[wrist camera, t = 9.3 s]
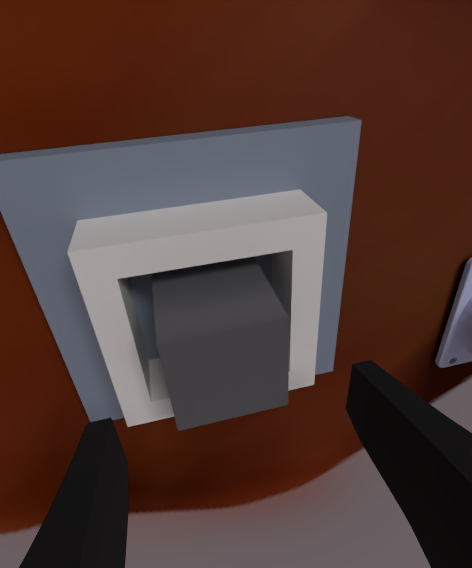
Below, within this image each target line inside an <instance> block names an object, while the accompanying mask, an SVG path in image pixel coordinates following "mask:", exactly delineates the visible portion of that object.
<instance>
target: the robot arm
mask: <svg viewBox="0 0 472 568" xmlns="http://www.w3.org/2000/svg"><path fill="white" fill-rule="evenodd" d="M470 361H472V257H471V258H470V259H469V260H468V261H467V263H466V265H465V269H464V272H463V275H462V278H461V281H460V284H459V287H458V291H457V294H456V297H455V300H454V303H453V306H452V309H451V313H450V316H449V319H448V322H447V325H446V328H445V331H444V335H443V338H442V341H441V344H440V347H439V350H438V353H437V357H436V360H435V363H436V364H437V365H438V366H439V367H440V368H445V367H449V366H453V365H458V364H462V363H466V362H470ZM346 410H347V412H348V414H349V417H350V419H351V421H352V424H353V426H354V428H355V430H356V432H357V434H358V437H359V439H360V441H361V442H362V444H363V446H364V448H365V449H366V451H367V453H368V454H369V456H370V458H371V459H372V461H373V463H374V464H375V466H376V468H377V469H378V471H379V473H380V474H381V476H382V478H383V479H384V481H385V483H386V484H387V486H388V487H389V489H390V491H391V493H392V494H393V496H394V498H395V499H396V501H397V502H398V504H399V506H400V508H401V509H402V511H403V513H404V514H405V516H406V518H407V520H408V522H409V524H410V525H411V527H412V529H413V531H414V533H415V535H416V537H417V539H418V542H419V544H420V546H421V548H422V550H423V552H424V554H425V556H426V558H427V560H428V562H429V564H430V566H431V568H472V433H470V432H469V431H468V430H466V429H465V428H463V427H462V426H460V425H458V424H457V423H456V422H454V421H453V420H451V419H450V418H448V417H447V416H445V415H444V414H443V413H441V412H440V411H438V410H437V409H436V408H434V407H433V406H431V405H430V404H429V403H427V402H426V401H424V400H423V399H422V398H420V397H419V396H418V395H416V394H415V393H414V392H412V391H411V390H410V389H408V388H407V387H406V386H404V385H403V384H402V383H400V382H399V381H398V380H396V379H395V378H394V377H392V376H391V375H390V374H389V373H387V372H386V371H385V370H383V369H382V368H381V367H379V366H378V365H377V364H375V363H374V362H373V361H371V360H369V361H365V362H360V363H356V364H353V365H352V371H351V378H350V384H349V391H348V397H347V404H346ZM128 508H129V484H128V462H127V458H126V456H125V453H124V450H123V448H122V445H121V442H120V440H119V437H118V434H117V432H116V429H115V426H114V424H113V421H112V418H107V419H102V420H98V421H93V422H89V423H88V424H87V425H86V426H85V428H84V431H83V434H82V437H81V439H80V442H79V444H78V447H77V449H76V452H75V454H74V457H73V459H72V461H71V464H70V466H69V468H68V471H67V473H66V475H65V478H64V480H63V482H62V484H61V486H60V488H59V491H58V493H57V495H56V497H55V499H54V501H53V503H52V506H51V508H50V510H49V512H48V514H47V516H46V518H45V520H44V522H43V524H42V526H41V527H40V529H39V532H38V533H37V535H36V537H35V539H34V541H33V543H32V545H31V547H30V549H29V551H28V552H27V554H26V556H25V558H24V560H23V562H22V563H21V565H20V567H19V568H125V556H126V540H127V525H128Z"/></svg>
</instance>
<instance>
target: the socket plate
mask: <svg viewBox="0 0 472 568" xmlns="http://www.w3.org/2000/svg"><path fill="white" fill-rule="evenodd" d="M361 121H362V120H359V119H356V118H353V117H350V116H345V117H336V118H327V119H318V120H308V121H299V122H290V123H281V124H272V125H263V126H254V127H245V128H236V129H227V130H217V131H208V132H199V133H190V134H181V135H172V136H163V137H154V138H145V139H136V140H126V141H117V142H108V143H99V144H90V145H81V146H72V147H63V148H54V149H45V150H35V151H26V152H17V153H8V154H0V211H1V214H2V216H3V218H4V221H5V223H6V225H7V228H8V230H9V232H10V235H11V237H12V239H13V242H14V244H15V246H16V249H17V251H18V253H19V256H20V258H21V260H22V263H23V265H24V267H25V270H26V272H27V274H28V277H29V279H30V282H31V284H32V286H33V289H34V291H35V293H36V296H37V298H38V300H39V303H40V305H41V307H42V310H43V312H44V314H45V317H46V319H47V321H48V324H49V326H50V328H51V331H52V333H53V335H54V338H55V340H56V342H57V345H58V347H59V349H60V352H61V354H62V356H63V359H64V361H65V363H66V366H67V368H68V370H69V373H70V375H71V378H72V380H73V382H74V385H75V387H76V389H77V392H78V394H79V396H80V399H81V401H82V403H83V406H84V408H85V410H86V413H87V415H88V417H89V420H90V422H93V421H98V420H102V419H107V418H112V420H115V419H120V418H125V421H126V423H127V426H128V427H130V426H134V425H139V424H143V423H147V422H152V421H156V420H161V419H165V418H169V417H174V413H173V408H172V404H171V400H170V396H169V392H168V388H167V384H166V380H165V376H164V372H163V368H162V364H161V360H160V356H159V352H158V348H157V343H156V330H155V317H154V304H153V291H152V279H151V273H157V272H163V271H169V270H175V269H181V268H187V267H193V266H199V265H205V264H211V263H217V262H223V261H229V260H235V259H241V258H247V257H253V256H254V257H255V259H256V261H257V262H258V264H259V266H260V268H261V269H262V271H263V273H264V275H265V276H266V278H267V280H268V282H269V283H270V285H271V287H272V289H273V290H274V292H275V294H276V296H277V297H278V299H279V301H280V303H281V304H282V306H283V308H284V310H285V311H286V313H287V315H288V317H289V382H288V390H293V389H297V388H301V387H306V386H310V385H314V378H315V375H317V374H321V373H326V372H330V371H333V365H334V356H335V347H336V339H337V330H338V321H339V313H340V304H341V295H342V286H343V278H344V269H345V260H346V252H347V243H348V234H349V225H350V217H351V208H352V199H353V190H354V182H355V173H356V164H357V156H358V147H359V138H360V129H361Z"/></svg>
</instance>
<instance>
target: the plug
mask: <svg viewBox="0 0 472 568" xmlns="http://www.w3.org/2000/svg"><path fill="white" fill-rule="evenodd" d="M151 279H152V291H153V304H154V317H155V330H156V343H157V348H158V352H159V356H160V360H161V364H162V368H163V372H164V376H165V380H166V384H167V388H168V392H169V396H170V400H171V404H172V408H173V413H174V417H175V421H176V425H177V429H178V431H181V430H185V429H189V428H193V427H197V426H201V425H205V424H210V423H214V422H218V421H222V420H226V419H230V418H235V417H239V416H243V415H247V414H251V413H255V412H259V411H264V410H268V409H272V408H276V407H280V406H284V405H288V382H289V317H288V315H287V313H286V311H285V310H284V308H283V306H282V304H281V303H280V301H279V299H278V297H277V296H276V294H275V292H274V290H273V289H272V287H271V285H270V283H269V282H268V280H267V278H266V276H265V275H264V273H263V271H262V269H261V268H260V266H259V264H258V262H257V261H256V259H255V257H254V256H253V257H247V258H241V259H235V260H229V261H223V262H217V263H211V264H205V265H199V266H193V267H187V268H181V269H175V270H169V271H163V272H157V273H151Z"/></svg>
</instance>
